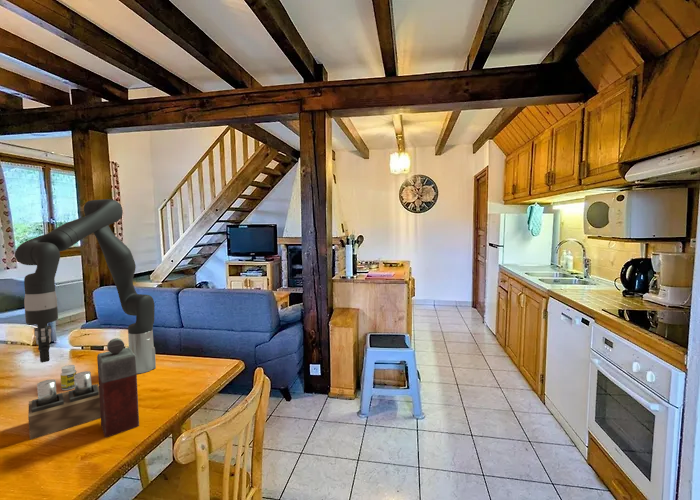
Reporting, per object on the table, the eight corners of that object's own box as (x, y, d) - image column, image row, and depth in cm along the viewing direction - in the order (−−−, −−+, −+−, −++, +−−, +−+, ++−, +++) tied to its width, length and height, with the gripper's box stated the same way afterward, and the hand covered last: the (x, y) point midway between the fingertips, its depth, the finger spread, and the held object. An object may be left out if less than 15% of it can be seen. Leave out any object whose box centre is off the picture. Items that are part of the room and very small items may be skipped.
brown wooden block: (98, 403, 124) (97, 381, 123) (103, 416, 115) (102, 393, 114) (30, 422, 112) (28, 398, 111) (29, 439, 103) (28, 413, 102)
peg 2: (91, 389, 119) (89, 370, 118) (92, 394, 115) (91, 374, 115) (74, 393, 116) (73, 373, 115) (75, 398, 112) (74, 378, 112)
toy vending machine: (132, 411, 118) (128, 331, 116) (139, 426, 110) (135, 339, 107) (100, 421, 112) (95, 337, 110) (105, 437, 104) (99, 346, 101)
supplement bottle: (68, 391, 132) (66, 369, 132) (58, 390, 133) (56, 368, 133) (80, 385, 137) (78, 364, 136) (70, 384, 138) (69, 363, 137)
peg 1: (56, 398, 113) (55, 378, 112) (57, 403, 109) (55, 382, 109) (38, 402, 110) (37, 382, 109) (38, 408, 106) (37, 387, 106)
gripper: (58, 308, 105) (61, 364, 106) (56, 301, 115) (59, 352, 116) (24, 312, 100) (28, 371, 101) (25, 304, 110) (28, 358, 111)
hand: (44, 361), depth 108 cm, fingers closed
